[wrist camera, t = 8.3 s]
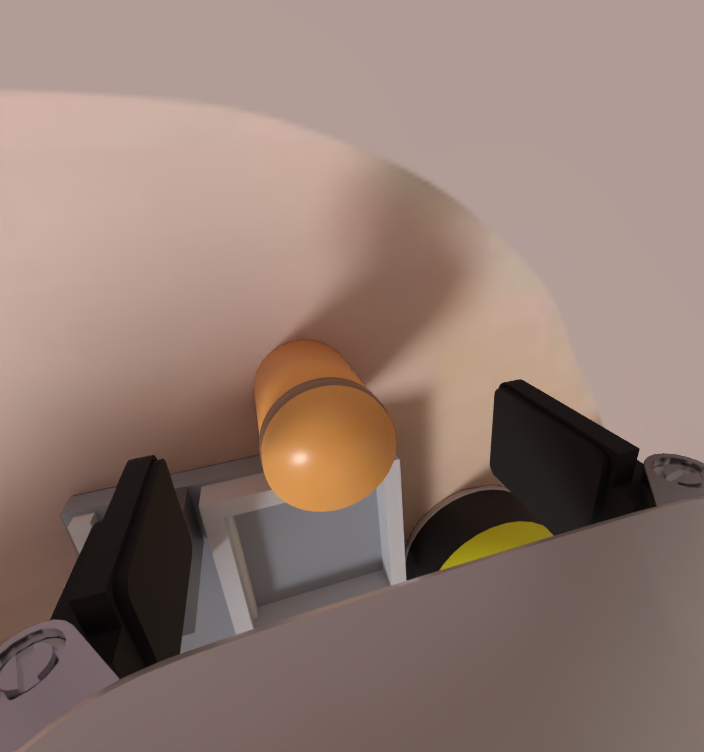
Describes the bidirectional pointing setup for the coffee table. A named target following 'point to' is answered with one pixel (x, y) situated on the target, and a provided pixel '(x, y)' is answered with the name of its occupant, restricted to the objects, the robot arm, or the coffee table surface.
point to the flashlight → (470, 530)
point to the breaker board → (272, 547)
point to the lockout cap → (320, 428)
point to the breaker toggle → (196, 561)
